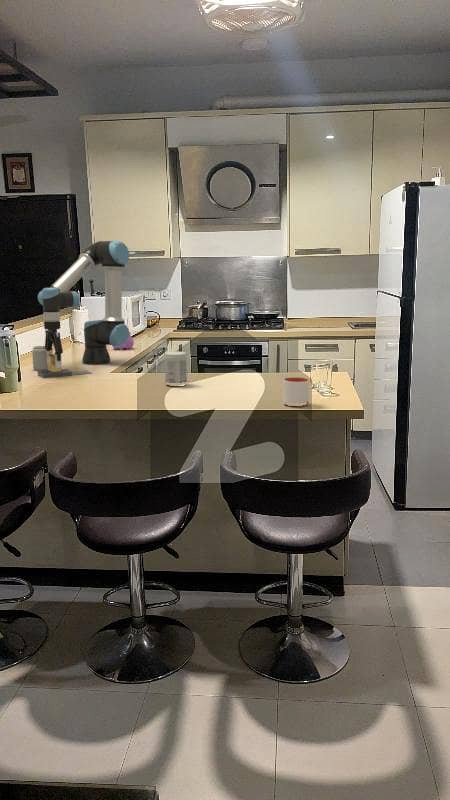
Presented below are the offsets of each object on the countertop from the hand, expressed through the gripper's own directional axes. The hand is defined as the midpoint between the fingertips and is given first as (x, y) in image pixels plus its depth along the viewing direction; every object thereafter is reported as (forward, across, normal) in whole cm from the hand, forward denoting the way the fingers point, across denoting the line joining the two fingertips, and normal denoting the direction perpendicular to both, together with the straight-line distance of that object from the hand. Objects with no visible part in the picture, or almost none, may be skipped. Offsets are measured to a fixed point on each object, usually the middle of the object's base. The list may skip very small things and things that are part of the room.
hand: (54, 365), depth 298 cm
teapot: (+5, -68, +68) cm, 96 cm away
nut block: (+5, 0, 0) cm, 5 cm away
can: (+5, -20, 0) cm, 21 cm away
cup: (+5, +112, +58) cm, 126 cm away
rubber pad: (+5, 0, +14) cm, 14 cm away
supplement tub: (+5, +53, +38) cm, 65 cm away
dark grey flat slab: (+5, 0, 0) cm, 5 cm away
